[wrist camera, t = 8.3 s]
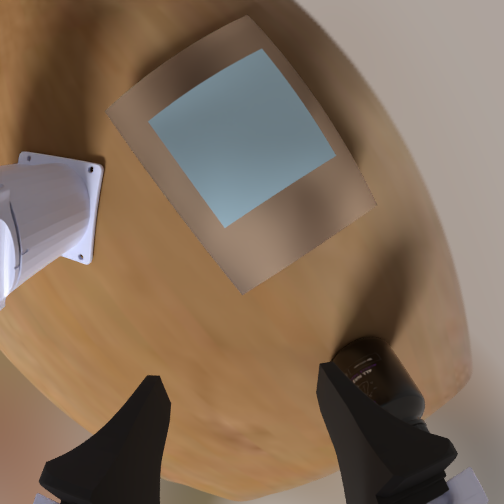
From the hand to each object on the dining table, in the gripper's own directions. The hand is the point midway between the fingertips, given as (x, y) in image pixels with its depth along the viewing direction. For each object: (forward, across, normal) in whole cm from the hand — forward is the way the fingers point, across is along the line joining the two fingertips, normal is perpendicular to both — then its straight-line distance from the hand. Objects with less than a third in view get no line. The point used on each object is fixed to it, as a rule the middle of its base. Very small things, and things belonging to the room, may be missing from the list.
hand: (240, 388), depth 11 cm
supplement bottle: (+11, -11, +10) cm, 18 cm away
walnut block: (+10, -1, -10) cm, 14 cm away
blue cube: (+6, -1, -10) cm, 12 cm away
